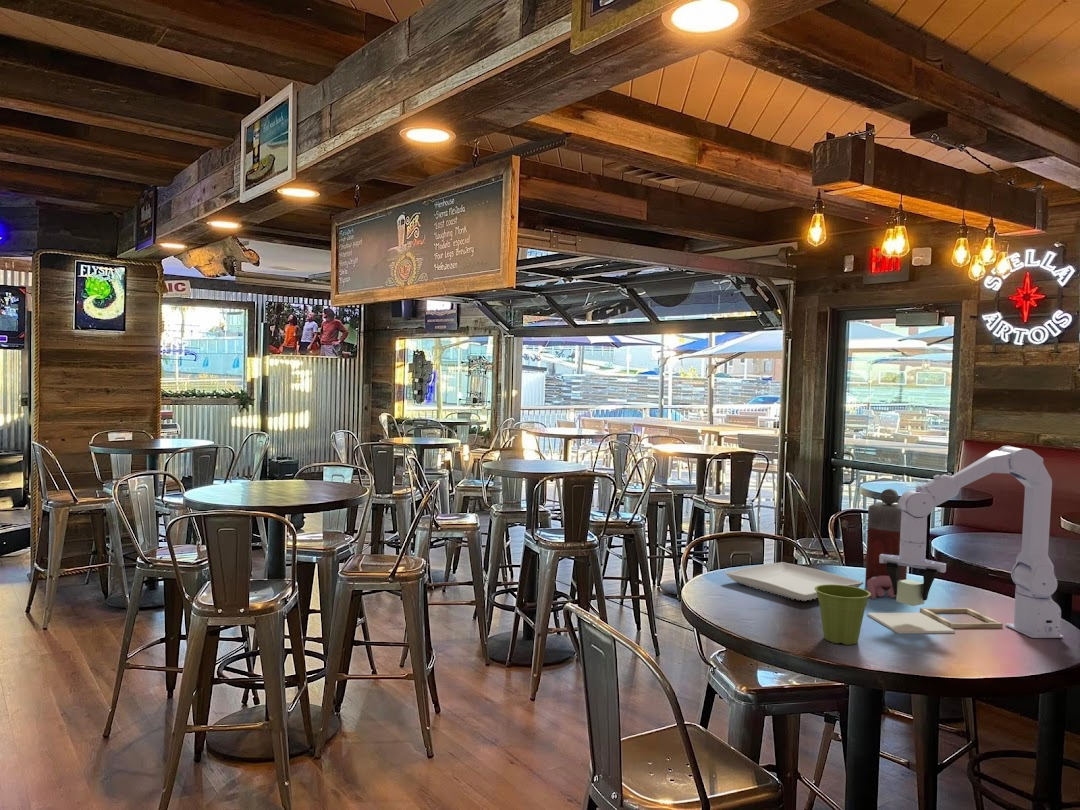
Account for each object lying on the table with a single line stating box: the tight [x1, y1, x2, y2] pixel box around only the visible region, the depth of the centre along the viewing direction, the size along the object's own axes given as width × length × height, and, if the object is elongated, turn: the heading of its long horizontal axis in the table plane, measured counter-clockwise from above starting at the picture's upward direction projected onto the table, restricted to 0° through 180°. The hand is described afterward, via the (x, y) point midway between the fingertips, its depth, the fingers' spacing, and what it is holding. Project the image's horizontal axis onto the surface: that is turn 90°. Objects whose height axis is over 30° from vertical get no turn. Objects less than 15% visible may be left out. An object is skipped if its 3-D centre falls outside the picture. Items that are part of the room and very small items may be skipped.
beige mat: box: [866, 612, 956, 635], centre depth 191 cm, size 14×14×1 cm
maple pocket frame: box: [919, 607, 1004, 629], centre depth 196 cm, size 13×13×1 cm
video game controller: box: [867, 576, 900, 601], centre depth 215 cm, size 10×5×7 cm, turn 85°
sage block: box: [895, 578, 925, 607], centre depth 191 cm, size 4×4×5 cm
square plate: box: [725, 561, 864, 602], centre depth 223 cm, size 27×27×4 cm
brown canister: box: [864, 488, 908, 591], centre depth 227 cm, size 9×11×28 cm
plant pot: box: [815, 584, 871, 646], centre depth 178 cm, size 12×12×11 cm
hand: (910, 596), depth 191 cm, fingers closed on sage block, 6 cm apart
